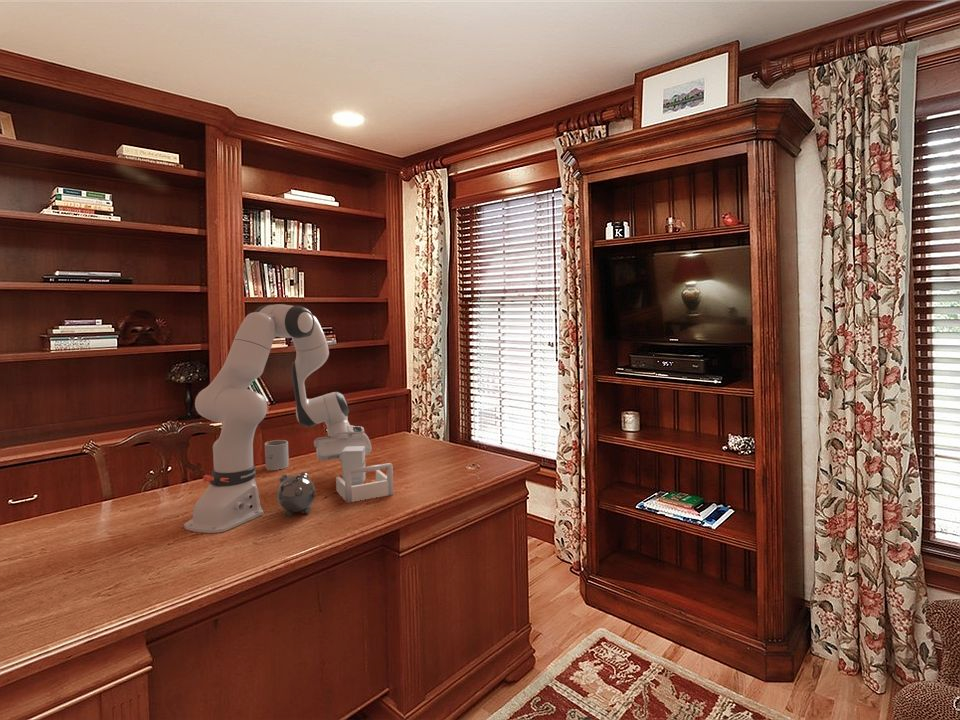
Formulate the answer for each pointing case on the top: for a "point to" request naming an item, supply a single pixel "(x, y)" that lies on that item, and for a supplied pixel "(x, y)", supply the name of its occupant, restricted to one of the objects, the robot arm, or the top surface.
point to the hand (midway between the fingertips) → (348, 466)
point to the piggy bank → (295, 493)
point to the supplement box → (354, 463)
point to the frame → (367, 490)
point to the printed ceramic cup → (276, 455)
